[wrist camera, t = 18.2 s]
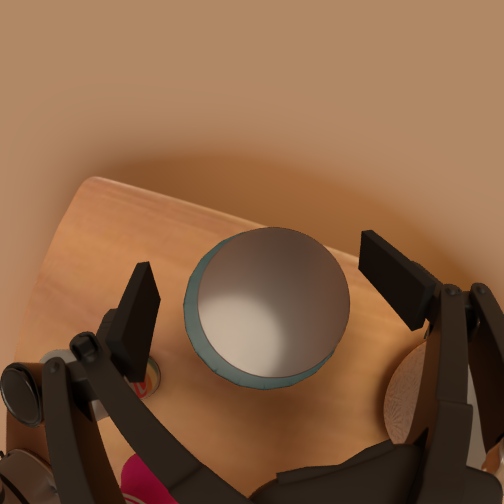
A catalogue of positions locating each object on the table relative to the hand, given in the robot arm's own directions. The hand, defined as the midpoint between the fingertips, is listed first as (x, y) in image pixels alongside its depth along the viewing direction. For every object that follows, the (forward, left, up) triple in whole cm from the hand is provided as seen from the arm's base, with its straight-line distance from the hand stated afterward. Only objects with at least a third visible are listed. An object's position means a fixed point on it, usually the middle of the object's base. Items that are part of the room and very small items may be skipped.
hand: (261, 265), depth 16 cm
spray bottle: (-11, -11, -15) cm, 22 cm away
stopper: (+1, -2, -6) cm, 7 cm away
